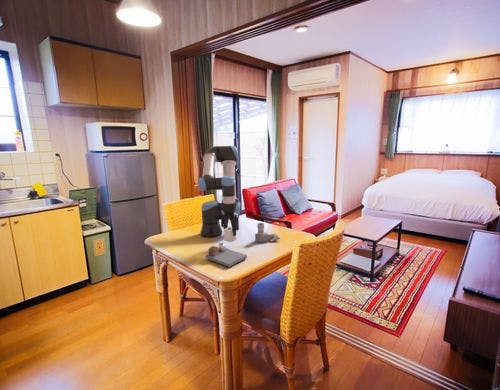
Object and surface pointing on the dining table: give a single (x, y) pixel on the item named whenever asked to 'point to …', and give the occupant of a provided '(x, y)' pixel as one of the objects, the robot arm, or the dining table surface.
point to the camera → (264, 235)
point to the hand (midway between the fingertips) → (230, 239)
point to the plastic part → (228, 234)
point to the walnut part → (213, 251)
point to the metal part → (221, 247)
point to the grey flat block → (227, 257)
